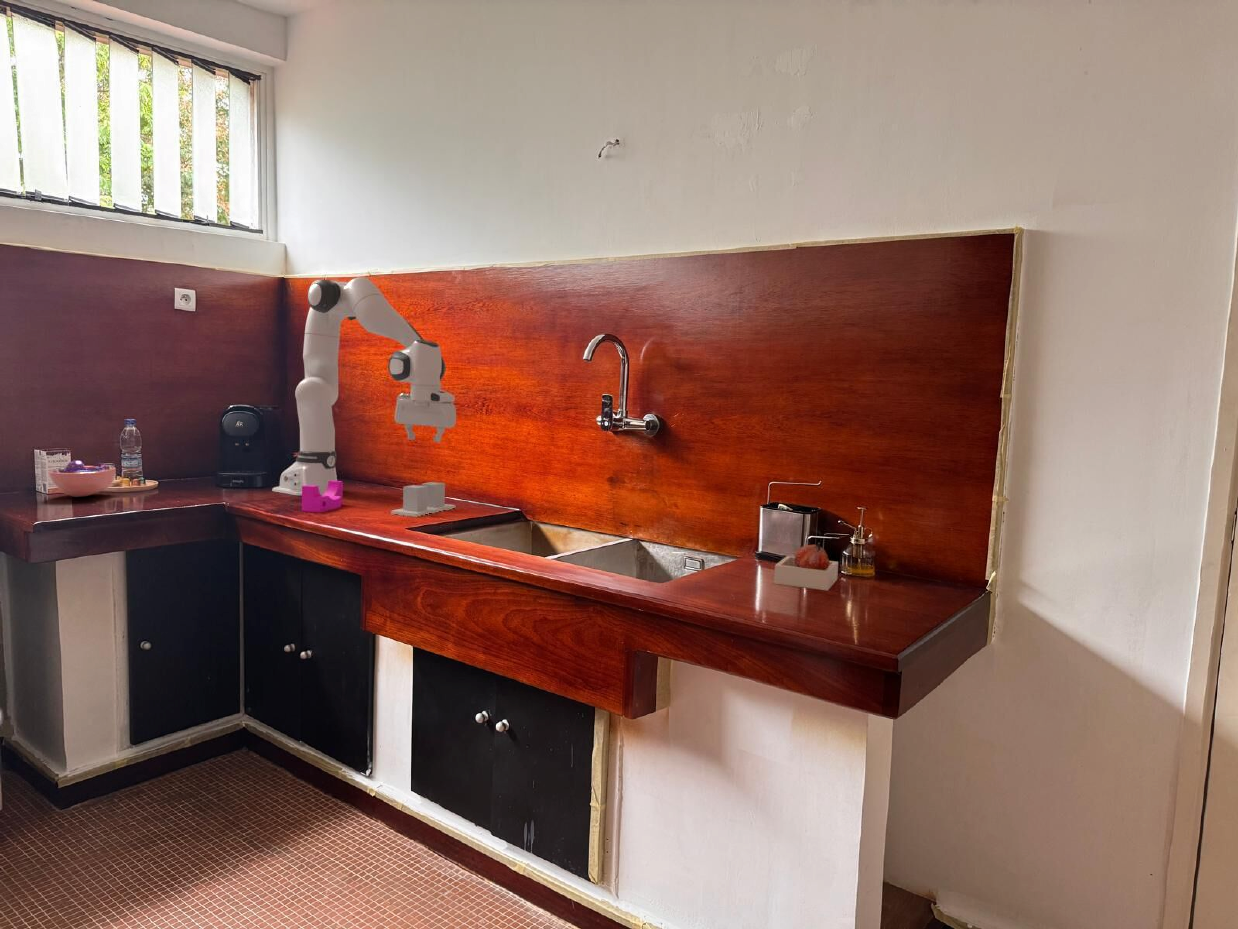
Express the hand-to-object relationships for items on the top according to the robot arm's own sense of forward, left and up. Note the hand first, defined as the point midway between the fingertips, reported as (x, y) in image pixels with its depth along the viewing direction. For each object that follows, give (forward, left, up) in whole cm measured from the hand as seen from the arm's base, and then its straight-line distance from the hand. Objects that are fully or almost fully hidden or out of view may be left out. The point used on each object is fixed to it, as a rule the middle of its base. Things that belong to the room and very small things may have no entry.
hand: (424, 440), depth 262 cm
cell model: (-101, -37, -22) cm, 109 cm away
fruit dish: (+122, -28, -22) cm, 127 cm away
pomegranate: (+122, -28, -22) cm, 127 cm away
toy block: (-27, -12, -22) cm, 37 cm away
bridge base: (0, 0, -22) cm, 22 cm away
